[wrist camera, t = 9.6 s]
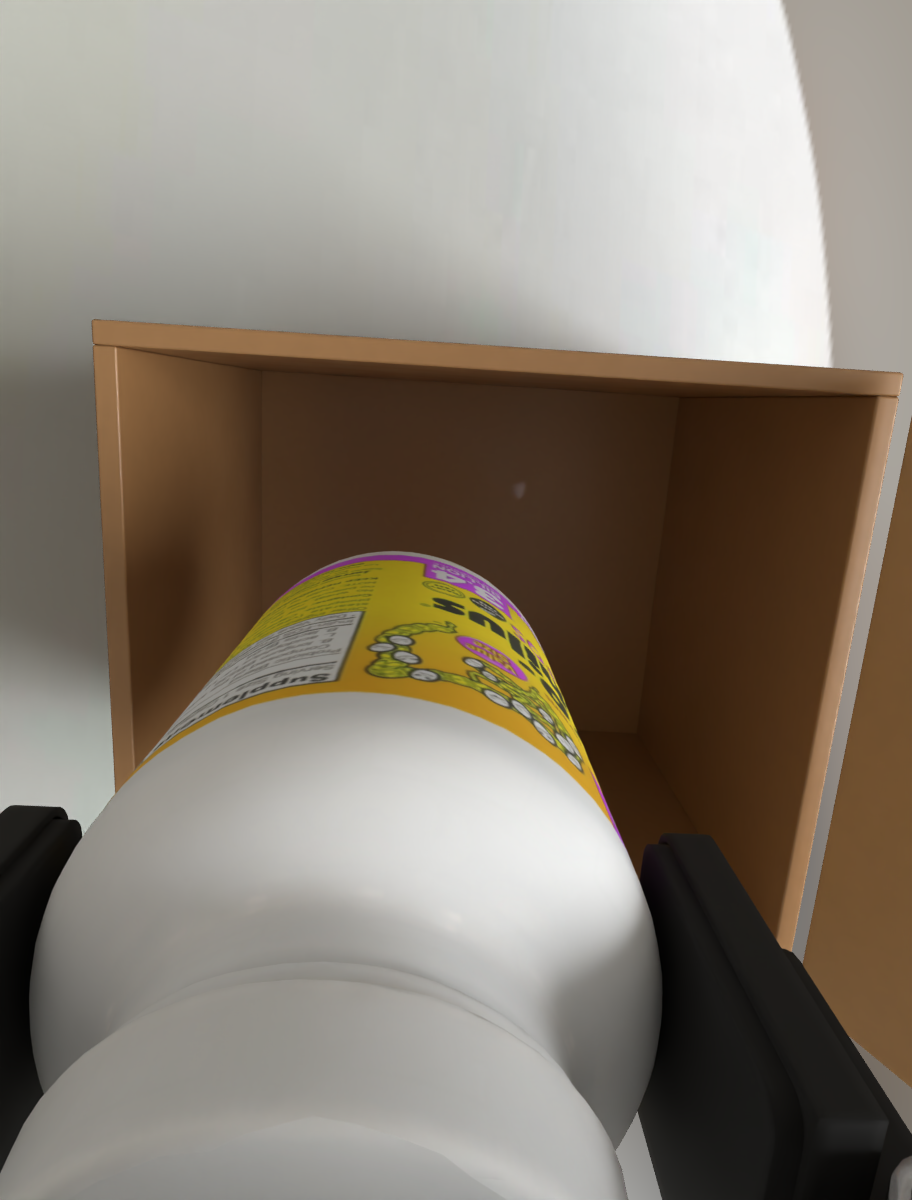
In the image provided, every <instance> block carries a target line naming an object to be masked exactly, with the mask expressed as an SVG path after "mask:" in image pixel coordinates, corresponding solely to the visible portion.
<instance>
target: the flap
mask: <svg viewBox="0 0 912 1200" xmlns="http://www.w3.org/2000/svg"><path fill="white" fill-rule="evenodd" d="M803 966H804V968H805V969H806V971H807V972H808V974H809V975H810V977H811V979H812V980H813V982H814V983H815V985H816V986H817V988H818V989H819V991H820V993H821V994H822V996H823V997H824V999H825V1000H826V1002H827V1003H828V1005H829V1007H830V1008H831V1010H832V1011H833V1013H834V1014H835V1016H836V1017H837V1019H838V1021H839V1022H840V1024H841V1025H842V1027H843V1028H844V1030H845V1031H846V1033H847V1035H848V1036H849V1037H851V1038H852V1039H853V1040H854V1041H855V1042H857V1043H858V1044H859V1045H860V1046H862V1047H863V1048H864V1049H865V1050H867V1051H868V1052H869V1053H870V1054H871V1055H872V1056H874V1057H875V1058H876V1059H877V1060H878V1061H880V1062H881V1063H882V1064H883V1065H885V1066H886V1067H887V1068H888V1069H889V1070H891V1071H892V1072H893V1073H894V1074H895V1075H897V1076H898V1077H899V1078H900V1079H901V1080H903V1081H904V1082H905V1083H906V1084H907V1085H909V1086H910V1087H911V1088H912V418H911V423H910V428H909V433H908V438H907V443H906V448H905V454H904V458H903V464H902V468H901V473H900V479H899V483H898V489H897V493H896V498H895V503H894V508H893V513H892V518H891V523H890V528H889V533H888V538H887V544H886V549H885V554H884V559H883V564H882V569H881V574H880V579H879V584H878V589H877V594H876V599H875V604H874V609H873V614H872V619H871V624H870V629H869V634H868V639H867V644H866V649H865V654H864V659H863V664H862V669H861V674H860V679H859V684H858V690H857V694H856V700H855V704H854V709H853V714H852V719H851V724H850V729H849V735H848V740H847V744H846V749H845V755H844V759H843V765H842V769H841V774H840V780H839V785H838V790H837V795H836V800H835V805H834V810H833V815H832V820H831V825H830V830H829V835H828V840H827V845H826V850H825V856H824V860H823V865H822V870H821V875H820V880H819V885H818V890H817V895H816V900H815V905H814V910H813V915H812V920H811V925H810V930H809V935H808V940H807V945H806V950H805V956H804V960H803Z"/></svg>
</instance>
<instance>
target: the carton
mask: <svg viewBox="0 0 912 1200" xmlns="http://www.w3.org/2000/svg"><path fill="white" fill-rule="evenodd" d="M92 339H93V344H95V345H94V346H93V362H94V382H95V402H96V422H97V441H98V461H99V481H100V501H101V520H102V540H103V560H104V580H105V599H106V619H107V639H108V659H109V678H110V698H111V718H112V738H113V757H114V777H115V793H116V792H117V791H118V790H119V789H120V787H121V786H122V785H123V784H124V782H125V781H126V780H127V779H128V778H129V776H130V775H131V774H132V773H133V772H134V770H135V769H136V768H137V767H138V765H139V764H140V763H141V762H142V761H143V760H144V758H145V757H146V756H147V755H148V754H149V753H150V752H151V750H152V749H153V748H154V747H155V746H156V745H157V743H158V742H159V741H160V740H161V739H162V737H163V736H164V735H165V734H166V732H167V731H168V730H169V729H170V727H171V726H172V725H173V724H174V722H175V721H176V720H177V719H178V718H179V716H180V715H181V714H182V713H183V712H184V711H185V709H186V708H187V707H188V706H189V705H190V703H191V702H192V701H193V700H194V698H195V697H196V696H197V695H198V693H199V692H200V691H201V690H202V689H203V688H204V686H205V685H206V684H207V682H208V681H209V680H210V679H211V678H212V677H213V675H214V674H215V673H216V671H217V670H218V669H219V668H220V666H221V665H222V664H223V663H224V662H225V661H226V659H227V658H228V657H229V656H230V654H231V653H232V652H233V651H234V650H235V648H236V647H237V646H238V645H239V644H240V642H241V641H242V640H243V639H244V638H245V636H246V635H247V634H248V633H249V631H250V630H251V629H252V628H253V627H254V625H255V624H256V623H257V622H258V621H259V619H260V618H261V617H262V616H263V614H264V613H265V612H266V611H267V610H268V609H269V608H270V607H271V605H272V604H273V603H274V602H275V601H276V600H277V599H278V598H279V597H281V596H282V595H283V594H284V593H285V592H287V591H288V590H289V589H290V588H291V587H293V586H294V585H295V584H297V583H298V582H300V581H301V580H302V579H304V578H306V577H307V576H309V575H311V574H312V573H314V572H315V571H317V570H319V569H320V568H323V567H325V566H327V565H330V564H332V563H334V562H337V561H339V560H342V559H346V558H349V557H353V556H356V555H361V554H366V553H373V552H384V551H401V552H414V553H420V554H425V555H430V556H434V557H438V558H441V559H445V560H448V561H451V562H453V563H456V564H458V565H460V566H463V567H464V568H466V569H468V570H470V571H472V572H474V573H476V574H478V575H479V576H481V577H483V578H484V579H486V580H487V581H489V582H490V583H491V584H492V585H494V586H495V587H496V588H497V589H498V590H500V591H501V592H502V593H503V594H504V595H505V596H506V597H507V598H508V599H509V600H510V601H511V602H512V603H513V604H514V605H515V606H516V607H517V609H518V610H519V611H520V612H521V613H522V615H523V616H524V618H525V619H526V621H527V622H528V624H529V625H530V627H531V628H532V630H533V632H534V634H535V635H536V637H537V639H538V641H539V643H540V645H541V647H542V649H543V651H544V654H545V656H546V658H547V660H548V663H549V665H550V668H551V670H552V673H553V675H554V677H555V680H556V682H557V685H558V687H559V689H560V691H561V694H562V696H563V698H564V701H565V703H566V706H567V708H568V710H569V713H570V715H571V717H572V720H573V723H574V725H575V727H576V730H577V732H578V735H579V737H580V739H581V741H582V744H583V746H584V748H585V750H586V753H587V756H588V759H589V761H590V764H591V766H592V768H593V771H594V773H595V776H596V778H597V781H598V783H599V786H600V788H601V791H602V793H603V796H604V798H605V801H606V803H607V805H608V808H609V810H610V813H611V815H612V817H613V820H614V822H615V824H616V827H617V829H618V831H619V834H620V836H621V838H622V841H623V843H624V845H625V848H626V850H627V852H628V855H629V857H630V860H631V862H632V864H633V867H634V869H635V872H636V874H637V876H638V879H639V881H640V874H641V866H642V859H643V853H644V849H645V847H646V845H647V844H658V842H659V839H660V837H661V835H662V834H663V833H683V834H706V835H710V836H711V837H712V838H713V839H714V841H715V842H716V844H717V846H718V847H719V849H720V850H721V852H722V854H723V855H724V857H725V858H726V860H727V862H728V863H729V865H730V866H731V868H732V870H733V871H734V873H735V874H736V876H737V878H738V879H739V881H740V882H741V884H742V886H743V887H744V889H745V890H746V892H747V894H748V895H749V897H750V898H751V900H752V902H753V903H754V905H755V906H756V908H757V910H758V911H759V913H760V914H761V916H762V918H763V919H764V921H765V923H766V924H767V926H768V927H769V929H770V931H771V932H772V934H773V935H774V937H775V939H776V940H777V942H778V943H779V945H780V947H781V948H782V949H786V950H789V951H791V952H792V946H793V941H794V936H795V931H796V926H797V920H798V915H799V911H800V905H801V900H802V895H803V890H804V885H805V880H806V874H807V869H808V864H809V859H810V854H811V849H812V843H813V838H814V833H815V828H816V823H817V817H818V813H819V807H820V802H821V797H822V792H823V787H824V782H825V777H826V771H827V766H828V761H829V755H830V750H831V746H832V740H833V735H834V730H835V724H836V720H837V715H838V710H839V705H840V699H841V694H842V689H843V684H844V679H845V674H846V668H847V663H848V658H849V653H850V648H851V642H852V638H853V632H854V627H855V621H856V617H857V612H858V607H859V601H860V596H861V591H862V586H863V581H864V576H865V571H866V565H867V560H868V555H869V550H870V545H871V540H872V535H873V529H874V524H875V519H876V514H877V508H878V504H879V498H880V493H881V488H882V483H883V478H884V473H885V468H886V462H887V457H888V452H889V447H890V442H891V437H892V432H893V426H894V421H895V416H896V411H897V405H898V401H899V399H898V398H897V396H899V394H900V390H901V385H902V380H903V374H902V373H900V372H884V371H870V370H855V369H840V368H824V367H809V366H794V365H779V364H764V363H749V362H734V361H719V360H704V359H688V358H673V357H658V356H643V355H628V354H613V353H598V352H583V351H567V350H552V349H537V348H522V347H507V346H492V345H477V344H462V343H446V342H431V341H416V340H401V339H386V338H371V337H356V336H341V335H326V334H310V333H295V332H280V331H265V330H250V329H235V328H220V327H205V326H189V325H174V324H159V323H144V322H129V321H114V320H99V319H94V320H92Z"/></svg>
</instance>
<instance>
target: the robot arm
mask: <svg viewBox="0 0 912 1200" xmlns="http://www.w3.org/2000/svg"><path fill="white" fill-rule="evenodd" d="M81 838H82V831H81V826H80V824H79V822H78V821H77V820H68V816H67V814H66V812H65V810H64V809H63V808H61V807H46V806H22V805H13V806H9V807H8V808H6V809H5V810H4V811H3V812H2V813H1V814H0V1173H1V1170H2V1168H3V1166H4V1164H5V1162H6V1160H7V1158H8V1155H9V1153H10V1151H11V1149H12V1147H13V1145H14V1143H15V1141H16V1139H17V1137H18V1135H19V1133H20V1131H21V1129H22V1127H23V1124H24V1123H25V1121H26V1120H27V1118H28V1117H29V1115H30V1114H31V1112H32V1110H33V1109H34V1107H35V1106H36V1104H37V1103H38V1101H39V1100H40V1099H41V1097H42V1096H43V1095H44V1093H43V1090H42V1087H41V1085H40V1081H39V1077H38V1073H37V1069H36V1064H35V1060H34V1056H33V1049H32V1041H31V1033H30V1013H29V991H30V977H31V971H32V964H33V957H34V950H35V943H36V939H37V936H38V933H39V929H40V926H41V922H42V919H43V916H44V913H45V910H46V907H47V904H48V901H49V898H50V895H51V893H52V890H53V888H54V886H55V884H56V882H57V880H58V878H59V876H60V874H61V872H62V870H63V869H64V867H65V865H66V863H67V861H68V860H69V858H70V856H71V854H72V852H73V851H74V849H75V847H76V845H77V844H78V843H79V841H80V840H81ZM640 884H641V887H642V890H643V892H644V895H645V898H646V901H647V904H648V907H649V910H650V913H651V916H652V919H653V924H654V929H655V933H656V938H657V943H658V948H659V956H660V963H661V970H662V992H663V995H662V1018H661V1028H660V1034H659V1041H658V1047H657V1053H656V1058H655V1063H654V1067H653V1070H652V1073H651V1077H650V1080H649V1083H648V1086H647V1088H646V1091H645V1093H644V1096H643V1098H642V1101H641V1103H640V1106H639V1108H638V1110H637V1111H638V1114H639V1118H640V1122H641V1125H642V1128H643V1132H644V1136H645V1139H646V1143H647V1147H648V1150H649V1154H650V1157H651V1161H652V1164H653V1168H654V1172H655V1175H656V1179H657V1182H658V1186H659V1189H660V1193H661V1197H662V1200H912V1134H911V1133H910V1131H909V1130H908V1128H907V1126H906V1125H905V1123H904V1122H903V1120H902V1119H901V1117H900V1116H899V1114H898V1112H897V1111H896V1109H895V1108H894V1106H893V1105H892V1103H891V1102H890V1100H889V1098H888V1097H887V1095H886V1094H885V1092H884V1091H883V1089H882V1088H881V1086H880V1084H879V1083H878V1081H877V1080H876V1078H875V1077H874V1075H873V1074H872V1072H871V1070H870V1069H869V1067H868V1066H867V1064H866V1063H865V1061H864V1059H863V1058H862V1056H861V1055H860V1053H859V1052H858V1050H857V1049H856V1047H855V1046H854V1044H853V1043H852V1041H851V1039H850V1038H849V1036H848V1035H847V1033H846V1031H845V1030H844V1028H843V1027H842V1025H841V1024H840V1022H839V1021H838V1019H837V1017H836V1016H835V1014H834V1013H833V1011H832V1010H831V1008H830V1007H829V1005H828V1003H827V1002H826V1000H825V999H824V997H823V996H822V994H821V993H820V991H819V989H818V988H817V986H816V985H815V983H814V982H813V980H812V979H811V977H810V975H809V974H808V972H807V971H806V969H805V968H804V966H803V965H802V963H801V962H800V960H799V959H798V958H797V957H796V956H795V955H794V953H793V952H791V951H789V950H786V949H782V948H781V947H780V945H779V943H778V942H777V940H776V939H775V937H774V935H773V934H772V932H771V931H770V929H769V927H768V926H767V924H766V923H765V921H764V919H763V918H762V916H761V914H760V913H759V911H758V910H757V908H756V906H755V905H754V903H753V902H752V900H751V898H750V897H749V895H748V894H747V892H746V890H745V889H744V887H743V886H742V884H741V882H740V881H739V879H738V878H737V876H736V874H735V873H734V871H733V870H732V868H731V866H730V865H729V863H728V862H727V860H726V858H725V857H724V855H723V854H722V852H721V850H720V849H719V847H718V846H717V844H716V842H715V841H714V839H713V838H712V837H711V836H710V835H706V834H683V833H663V834H662V835H661V837H660V839H659V842H658V844H647V845H646V847H645V849H644V853H643V859H642V866H641V874H640Z"/></svg>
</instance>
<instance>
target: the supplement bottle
mask: <svg viewBox="0 0 912 1200" xmlns="http://www.w3.org/2000/svg"><path fill="white" fill-rule="evenodd" d="M662 995H663V992H662V970H661V963H660V956H659V948H658V943H657V938H656V933H655V929H654V924H653V919H652V916H651V913H650V910H649V907H648V904H647V901H646V898H645V895H644V892H643V890H642V887H641V884H640V881H639V879H638V876H637V874H636V872H635V869H634V867H633V864H632V862H631V860H630V857H629V855H628V852H627V850H626V848H625V845H624V843H623V841H622V838H621V836H620V834H619V831H618V829H617V827H616V824H615V822H614V820H613V817H612V815H611V813H610V810H609V808H608V805H607V803H606V801H605V798H604V796H603V793H602V791H601V788H600V786H599V783H598V781H597V778H596V776H595V773H594V771H593V768H592V766H591V764H590V761H589V759H588V756H587V753H586V750H585V748H584V746H583V744H582V741H581V739H580V737H579V735H578V732H577V730H576V727H575V725H574V723H573V720H572V717H571V715H570V713H569V710H568V708H567V706H566V703H565V701H564V698H563V696H562V694H561V691H560V689H559V687H558V685H557V682H556V680H555V677H554V675H553V673H552V670H551V668H550V665H549V663H548V660H547V658H546V656H545V654H544V651H543V649H542V647H541V645H540V643H539V641H538V639H537V637H536V635H535V634H534V632H533V630H532V628H531V627H530V625H529V624H528V622H527V621H526V619H525V618H524V616H523V615H522V613H521V612H520V611H519V610H518V609H517V607H516V606H515V605H514V604H513V603H512V602H511V601H510V600H509V599H508V598H507V597H506V596H505V595H504V594H503V593H502V592H501V591H500V590H498V589H497V588H496V587H495V586H494V585H492V584H491V583H490V582H489V581H487V580H486V579H484V578H483V577H481V576H479V575H478V574H476V573H474V572H472V571H470V570H468V569H466V568H464V567H463V566H460V565H458V564H456V563H453V562H451V561H448V560H445V559H441V558H438V557H434V556H430V555H425V554H420V553H414V552H401V551H384V552H373V553H366V554H361V555H356V556H353V557H349V558H346V559H342V560H339V561H337V562H334V563H332V564H330V565H327V566H325V567H323V568H320V569H319V570H317V571H315V572H314V573H312V574H311V575H309V576H307V577H306V578H304V579H302V580H301V581H300V582H298V583H297V584H295V585H294V586H293V587H291V588H290V589H289V590H288V591H287V592H285V593H284V594H283V595H282V596H281V597H279V598H278V599H277V600H276V601H275V602H274V603H273V604H272V605H271V607H270V608H269V609H268V610H267V611H266V612H265V613H264V614H263V616H262V617H261V618H260V619H259V621H258V622H257V623H256V624H255V625H254V627H253V628H252V629H251V630H250V631H249V633H248V634H247V635H246V636H245V638H244V639H243V640H242V641H241V642H240V644H239V645H238V646H237V647H236V648H235V650H234V651H233V652H232V653H231V654H230V656H229V657H228V658H227V659H226V661H225V662H224V663H223V664H222V665H221V666H220V668H219V669H218V670H217V671H216V673H215V674H214V675H213V677H212V678H211V679H210V680H209V681H208V682H207V684H206V685H205V686H204V688H203V689H202V690H201V691H200V692H199V693H198V695H197V696H196V697H195V698H194V700H193V701H192V702H191V703H190V705H189V706H188V707H187V708H186V709H185V711H184V712H183V713H182V714H181V715H180V716H179V718H178V719H177V720H176V721H175V722H174V724H173V725H172V726H171V727H170V729H169V730H168V731H167V732H166V734H165V735H164V736H163V737H162V739H161V740H160V741H159V742H158V743H157V745H156V746H155V747H154V748H153V749H152V750H151V752H150V753H149V754H148V755H147V756H146V757H145V758H144V760H143V761H142V762H141V763H140V764H139V765H138V767H137V768H136V769H135V770H134V772H133V773H132V774H131V775H130V776H129V778H128V779H127V780H126V781H125V782H124V784H123V785H122V786H121V787H120V789H119V790H118V791H117V792H116V793H115V795H114V796H113V797H112V798H111V800H110V801H109V802H108V804H107V805H106V807H105V808H104V809H103V811H102V812H101V813H100V815H99V816H98V817H97V818H96V819H95V821H94V822H93V823H92V824H91V826H90V827H89V829H88V830H87V831H86V833H85V834H84V836H83V837H82V838H81V840H80V841H79V843H78V844H77V845H76V847H75V849H74V851H73V852H72V854H71V856H70V858H69V860H68V861H67V863H66V865H65V867H64V869H63V870H62V872H61V874H60V876H59V878H58V880H57V882H56V884H55V886H54V888H53V890H52V893H51V895H50V898H49V901H48V904H47V907H46V910H45V913H44V916H43V919H42V922H41V926H40V929H39V933H38V936H37V939H36V943H35V950H34V957H33V964H32V971H31V977H30V991H29V1013H30V1033H31V1041H32V1049H33V1056H34V1060H35V1064H36V1069H37V1073H38V1077H39V1081H40V1085H41V1087H42V1090H43V1093H44V1095H43V1096H42V1097H41V1099H40V1100H39V1101H38V1103H37V1104H36V1106H35V1107H34V1109H33V1110H32V1112H31V1114H30V1115H29V1117H28V1118H27V1120H26V1121H25V1123H24V1124H23V1127H22V1129H21V1131H20V1133H19V1135H18V1137H17V1139H16V1141H15V1143H14V1145H13V1147H12V1149H11V1151H10V1153H9V1155H8V1158H7V1160H6V1162H5V1164H4V1166H3V1168H2V1170H1V1173H0V1200H628V1197H627V1192H626V1187H625V1182H624V1178H623V1173H622V1169H621V1166H620V1163H619V1161H618V1158H617V1155H616V1153H615V1151H616V1149H617V1148H618V1146H619V1145H620V1143H621V1141H622V1139H623V1137H624V1136H625V1134H626V1132H627V1130H628V1129H629V1127H630V1125H631V1123H632V1121H633V1119H634V1117H635V1115H636V1113H637V1110H638V1108H639V1106H640V1103H641V1101H642V1098H643V1096H644V1093H645V1091H646V1088H647V1086H648V1083H649V1080H650V1077H651V1073H652V1070H653V1067H654V1063H655V1058H656V1053H657V1047H658V1041H659V1034H660V1028H661V1018H662Z"/></svg>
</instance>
